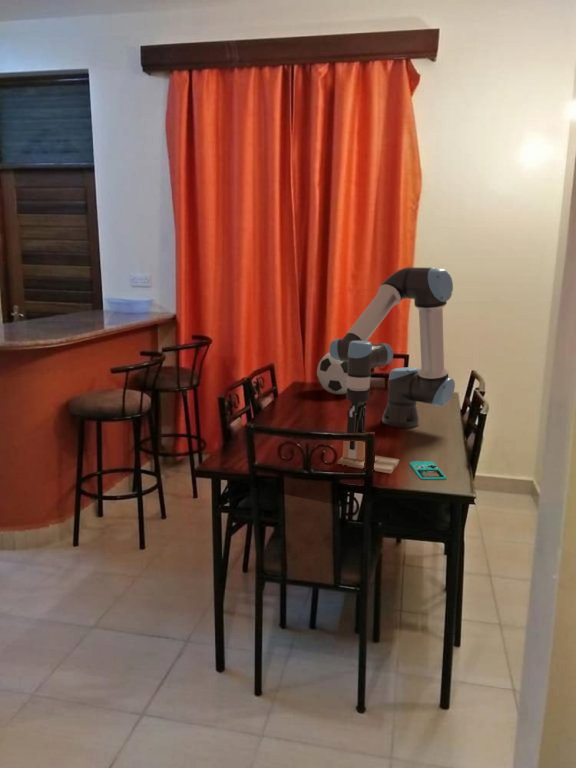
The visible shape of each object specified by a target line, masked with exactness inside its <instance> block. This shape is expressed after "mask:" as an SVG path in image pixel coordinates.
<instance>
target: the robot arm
mask: <svg viewBox="0 0 576 768" xmlns="http://www.w3.org/2000/svg"><path fill="white" fill-rule="evenodd" d="M453 285H454V284H453V279H452V276H451V274H450V272H449V271H447V270H446V269H444V268H438V267H413V266H406V267H403V268H401V269H399V270H396V271H395V272H393V273H391V275H389V276H388V277H387V278H386V279H385V280H384V281H383V282H382V283H381V284H380V285H379V287H378V289H377V294H376V295H375V296H374V298H373V299H372V300H371V301H370V303H369V304H368V305H367V307H366V308H365V309H364V310H363V312H361V314H360V315H359V317H358V318H357V319H356V321H355V322H354V323H353V325H351V327H350V329H349V330H348V331H347V332H346V334H345V335H344V336H343V337H342V338H334V339H333V340H332V341H331V342H330V344H329V348H328V353H330V355H331V357H332V358H333V359H336V360H340V361H346V362H348V372H347V377H346V380H347V387H348V388H347V393H346V396H345V397H346V400H347V401H349V402H351V403H350V406H349V409H348V410H347V413H346V414H347V421H346V423H347V424H346V425H347V426H346V433H365V434H367V433H366V431H365V430H366V418H367V403H368V401H369V400H370V388H371V370H372V369H374V368H377V367H384V366H386V365H388V364H390V363H391V362H392V360H393V358H394V350H393V348H392V346H391V345H390V344H388V343H385V342H384V343H383V342H378V343H372V341H368V340H369V339H370V338H371V336H372V335H373V334H374V332H375V331H376V329H378V327H379V326H380V324H381V323H382V322H383V320H384V319H385V318H386V317H387V315H388V314H389V313H390V311H391V310H392V309H393V307H394V306H396V305H399V304H400V302H401V301H402V300H405V299H411V300H413V301H414V307H415V308H416V309H418V318H419V319H418V321H419V340H420V341H419V342H420V343H419V344H420V346H419V347H420V363H421V365H420V369H419V368H418V367H416V366H415V367H413V366H409V367H397V368H393V369H391V370H390V371H389V376H388V391H387V404H386V407H385V410H384V412H383V414H382V421H381V422H382V423H383V424H384V425H386V426H389V427H394V428H402V429H403V428H404V429H405V428H407V429H410V428H414V427H415V428H416V427H418V426H419V425H420V416H419V411H418V407H417V403H422V404H427V405H432V406H435V407H436V406H437V407H444V406H446V405H447V404H449V402H450V400H451V399H452V397H453V395H454V391H455V387H456V383H455V380H454V378H452V377H449V369H447V368H446V367H445V354H444V353H445V351H444V349H445V348H444V347H445V346H444V345H445V344H444V319H443V318H444V317H443V316H444V315H443V313H444V312H443V308H444V307H445V306H447V304H448V303H447V302H448V301H449V300H450V299H451V298H452V295H453V290H454V286H453ZM348 458H353V459H356V458H357V441H349V451H348Z"/></svg>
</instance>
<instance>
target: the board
mask: <svg viewBox="0 0 576 768" xmlns="http://www.w3.org/2000/svg"><path fill="white" fill-rule="evenodd" d="M364 463H365V460H364V461H363V462H362V461H356V460H351V459H345V458H343V455H342V457H340V458H339V459H338V460H337V465H338V464H342V465H341V466H344V465H347V466H346V467H350V468H356V469H363V468H364ZM399 463H400V459H398V458H394V457H388V456H381V455H376V454H375V463H374V470H375V472H380V473H385V474H390V475H391V474H392V473H393V471H394V470H395V469H396V468H397V467H398V465H399ZM363 470H364V469H363Z"/></svg>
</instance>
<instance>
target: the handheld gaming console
mask: <svg viewBox="0 0 576 768" xmlns="http://www.w3.org/2000/svg"><path fill="white" fill-rule="evenodd" d="M409 465H410V467H411V468H412V470H413V471H414V472H415V474H416V476H417V477H418V478H419V479H420V480H425V481H433V480H435V481H437V480H439V481H440V480H442V481H444V480H447V476H446V475H445V474H444V473H443V471H442V470H441V469H440V468H439V467H438V466H437V464H436V463H435V462H434V461H431V460H430V461H425V460H424V461H411V462H410V463H409ZM428 471H435V472H437V471H438V472H439V473H438V472H437V473H438V474H439V476H437V475H435V476H431V475H429V474H430V473H428V474H427V473H426V472H428ZM423 474H426V475H427V476H425V475H423Z"/></svg>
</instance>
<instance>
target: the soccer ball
mask: <svg viewBox="0 0 576 768" xmlns="http://www.w3.org/2000/svg"><path fill="white" fill-rule="evenodd" d="M347 372H348V362H346V361H340V360H336V359H333V358H332V357H331V355H330V353H329V352H327V353H326V354H325V355H323V357H322V358H321V359H320V361H319V362H318V365H317V368H316V377H317V380H318V383H319V384H320V386H321V387H322V389H324V390H325V391H326V392H328V393H330V394H332V395H345V394H346V393H347V388H348V387H347V380H346V377H347Z"/></svg>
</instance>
